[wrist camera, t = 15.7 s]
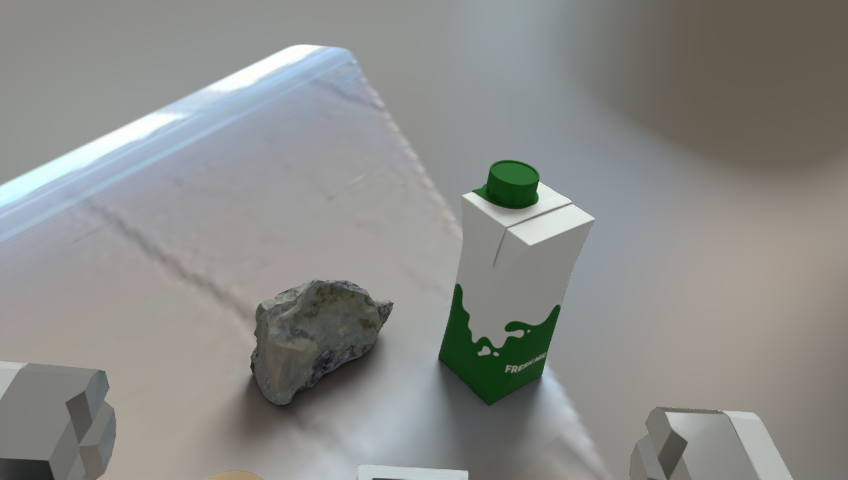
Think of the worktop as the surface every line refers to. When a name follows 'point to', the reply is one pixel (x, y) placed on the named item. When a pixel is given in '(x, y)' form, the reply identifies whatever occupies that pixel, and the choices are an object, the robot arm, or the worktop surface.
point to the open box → (407, 473)
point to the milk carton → (510, 279)
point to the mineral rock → (312, 334)
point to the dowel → (234, 476)
